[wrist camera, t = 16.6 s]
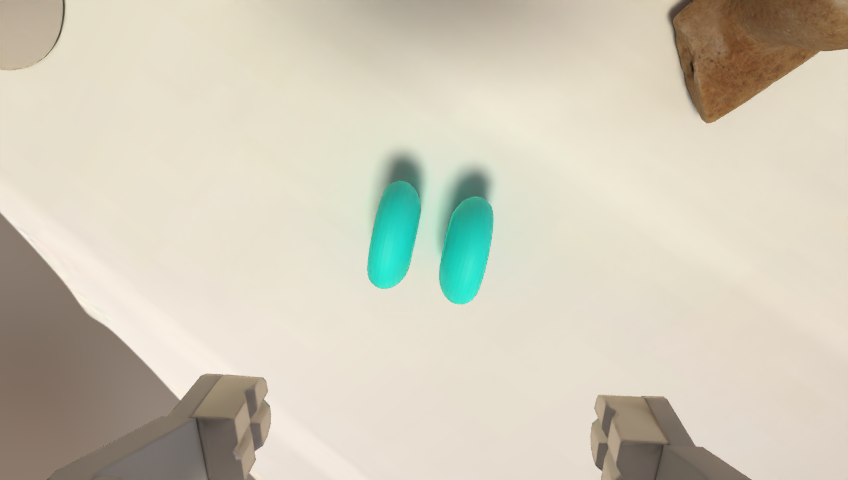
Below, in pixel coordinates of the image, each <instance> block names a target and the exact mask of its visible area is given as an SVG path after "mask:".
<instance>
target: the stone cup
mask: <svg viewBox="0 0 848 480" xmlns="http://www.w3.org/2000/svg"><path fill="white" fill-rule="evenodd" d="M673 26H674V28H675V30H676V46H677V48H678V51H679V56H680V59H681V66H682V69H683V70H684V72H685V75H686V79H685V80H686V84H687V88H688V90H689V92H690V94H691V96H692V99H693V103H694V105H695V107H696V108H697V110H698V112H699V113H700V116H701V119H702V120H703V121H704V122H706V123H712V122H714V121H716V120H718V119H719V118H721V117H723V116H724V115H726V114H727V113H729V112H731V111H732V110H734V109H735V108H737V107H739V106H740V105H742V104H743V103H745V102H747V101H748V100H750V99H751V98H752V97H754V96H755V95H756V94H758V93H760V92H761V91H763V90H764V89H766V88H767V87H768V86H770V85H771V84H772V83H773V82H775V81H777V80H779V79H780V78H782V77H783V76H785V75H786V74H788V73H789V72H791V71H792V70H794V69H795V68H797V67H798V66H800V65H801V64H803V63H804V62H806V61H807V60H809V59H810V58H811V57H813V56H814V55H816V54H817V53H818V52H819V51H833V50H841V49H848V0H694V1H692V2H691V3H690V4H688V5H687V6H686V7H685V8H684V9H682V10H681V11H680V12H679V13H678V14H677V15H676V16H675V17H674V20H673Z"/></svg>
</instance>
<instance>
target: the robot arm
mask: <svg viewBox="0 0 848 480" xmlns="http://www.w3.org/2000/svg"><path fill="white" fill-rule="evenodd" d="M62 17H63V0H0V69H1V70H17V69H22V68H26V67H29V66H31V65H33V64H35V63H37V62H38V61H40V60H41V59H42V58H44V57H45V56H46V55H47V54H48V53H49V51H50V50H51V49H52V47H53V46H54V44H55V42H56V40H57V38H58V35H59V32H60V29H61V24H62ZM267 392H268V389H267V383H266V380H265V379H264V378H263V377H250V376H237V375H221V374H204V375H202V376H200V378H199V379H198V380H197V381H196V382H195V384H194V385H193V386H192V387H191V389H190V390H189V391H188V392H187V393H186V395H185V396H184V397H183V398H182V400H181V401H180V402H179V403H178V404H177V406H176V407H175V408H174V409H173V411H172V412H171V413H170V414H169V416H168V417H164V416H162V417H159V418H157V419H155V420H153V421H151V422H150V423H148V424H146V425H144V426H142V427H140V428H138V429H136V430H134V431H132V432H130V433H128V434H126V435H124V436H122V437H120V438H119V439H117V440H115V441H113V442H111V443H109V444H107V445H105V446H103V447H101V448H99V449H97V450H95V451H93V452H91V453H89V454H88V455H86V456H84V457H82V458H80V459H78V460H76V461H74V462H72V463H70V464H68V465H66V466H65V467H62V468H60V469H58V470H57V471H55V472H54V473H53V474H52V475H51V476H50V477H49V478H48V479H47V480H245V479H246V478H247V476H248V474H249V472H250V470H251V468H252V466H253V464H254V462H255V460H256V458H255V451H256V450H257V449H258V448H260V447H261V446H263V444H264V442H265V440H266V438H267V436H268V432H269V428H270V424H271V411H270V406H269V405H268V403H267V402H266V401H265V400H264V398H265V396H266V394H267ZM595 411H596V414H597V417H598V419H597V420H596V421H594V422H593V423H592V428H591V450H592V455H593V459H594V462H595V465H596V466H597V467H598V468H599V469H600V470H601V471H602V476H601V480H751V479H750V478H748V477H747V476H745V475H744V474H742V473H741V472H739V471H738V470H736V469H735V468H733V467H732V466H730V465H729V464H727V463H726V462H724V461H723V460H721V459H720V458H718V457H717V456H715V455H714V454H712V453H711V452H709V451H708V450H706V449H705V448H703V447H696V446H695V444H694V443H693V441H692V439H691V438H690V436H689V435H688V433H687V431H686V430H685V428H684V426H683V425H682V423H681V421H680V420H679V418H678V416H677V415H676V413H675V412H674V410H673V408H672V407H671V405H670V403H669V402H668V400H667V399H666V398H664V397H661V396H641V397H636V396H615V395H598V397H597V399H596V403H595Z"/></svg>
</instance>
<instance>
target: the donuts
mask: <svg viewBox="0 0 848 480" xmlns="http://www.w3.org/2000/svg"><path fill="white" fill-rule="evenodd" d="M420 212H421V205H420V199H419V196H418V194H417V192H416V190H415V189H414V187H413V186H412V185H410V184H409V183H407V182H405V181H396V182H393V183H391V184H390V185H388V187H387V188H386V189H385V191H384V193H383V195H382V198H381V201H380V204H379V207H378V211H377V215H376V219H375V223H374V228H373V233H372V238H371V243H370V249H369V256H368V267H367V270H368V277H369V279H370V281H371V282H372V284H374V285H375V286H376V287H378V288H382V289H387V288H391V287H393V286H395V285H396V284H398V283H399V282H400V281H401V280H402V279H403V278H404V276H405V275H406V273H407V271H408V269H409V265H410V261H411V257H412V252H413V247H414V243H415V238H416V233H417V228H418V223H419V218H420ZM492 231H493V211H492V207H491V206H490V204H489V203H488V202H487V201H486V200H485V199H483V198H481V197H470V198H468V199H465V200H464V201H463V202H461V203H460V204H459V205H458V206H457V208H456V209H455V210H454V212H453V214H452V216H451V219H450V222H449V226H448V229H447V234H446V238H445V242H444V248H443V252H442V258H441V264H440V271H439V280H440V286H441V289H442V292H443V293H444V295H445V296H446V298H447V299H448V300H450V301H451V302H453V303H455V304H465V303H468V302H470V301H471V300H472V299H473V298H474V297H475V296H476V294H477V292H478V290H479V287H480V285H481V282H482V279H483V276H484V272H485V268H486V264H487V260H488V255H489V250H490V245H491V239H492Z"/></svg>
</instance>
